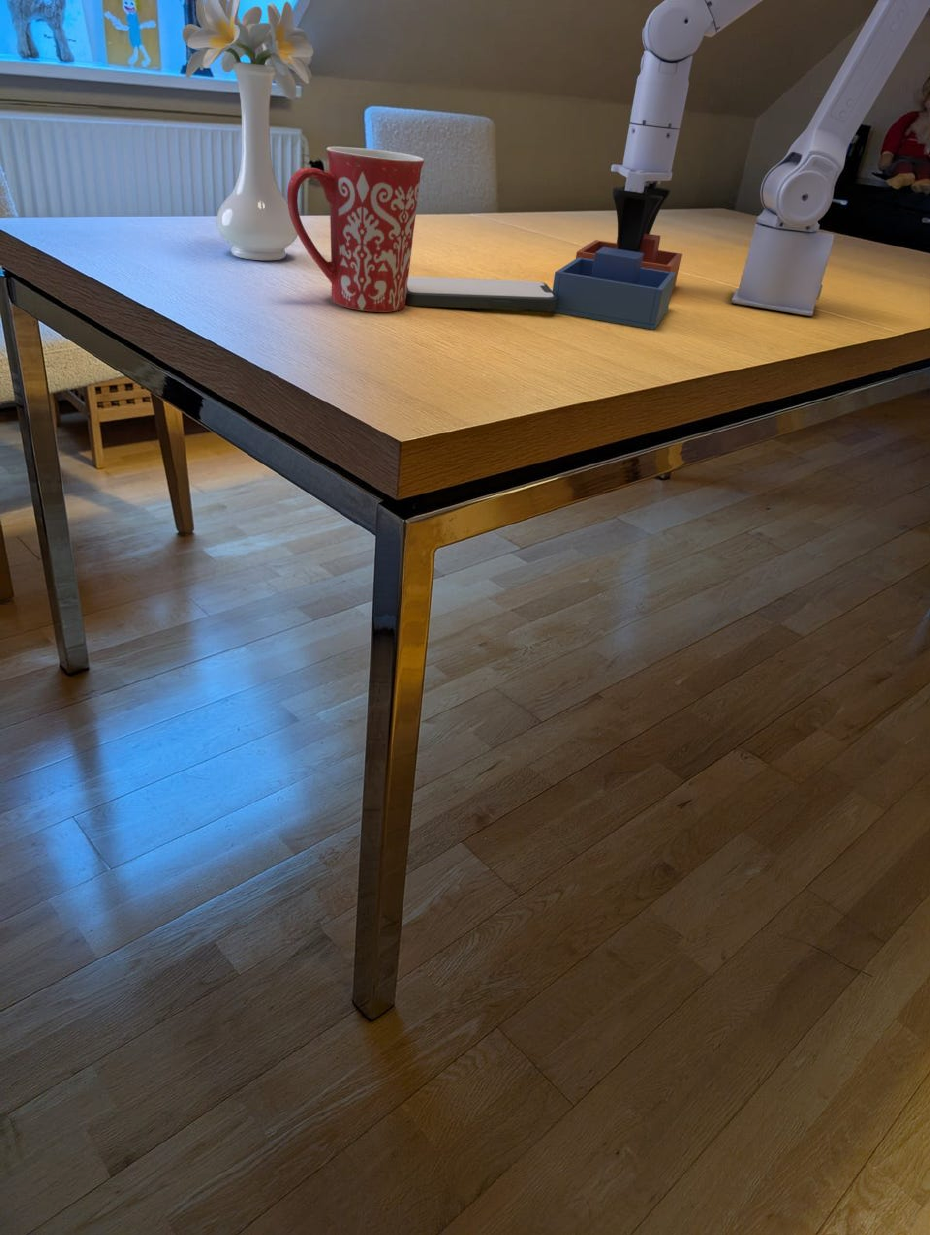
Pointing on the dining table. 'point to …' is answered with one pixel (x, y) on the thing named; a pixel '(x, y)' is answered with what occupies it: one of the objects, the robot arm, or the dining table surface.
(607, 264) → the blue block
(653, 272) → the blue bin
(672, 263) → the terracotta bin
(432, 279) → the phone case
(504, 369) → the dining table surface
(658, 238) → the terracotta block
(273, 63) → the flower vase
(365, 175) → the mug
